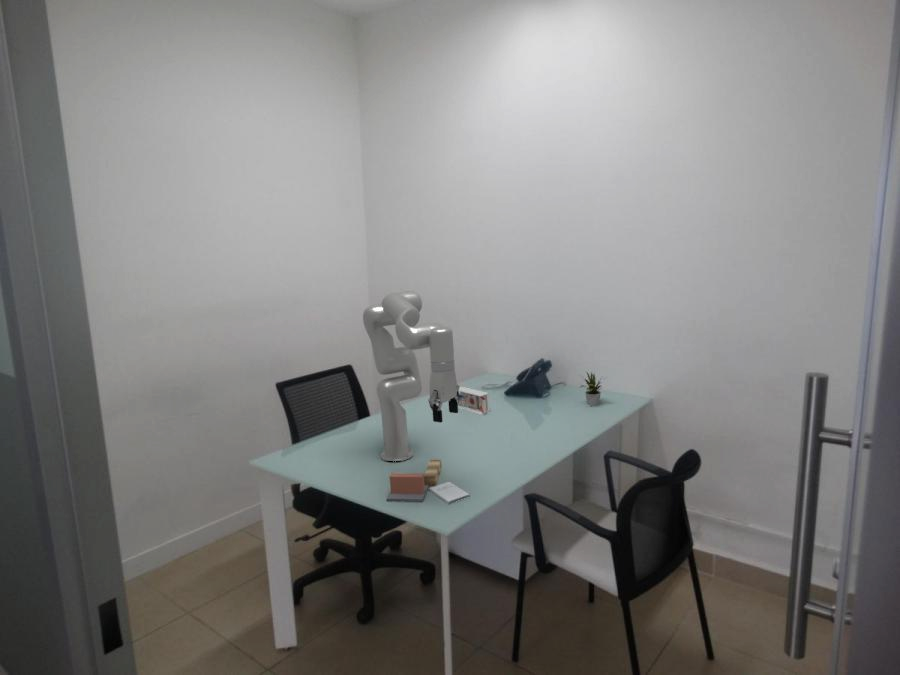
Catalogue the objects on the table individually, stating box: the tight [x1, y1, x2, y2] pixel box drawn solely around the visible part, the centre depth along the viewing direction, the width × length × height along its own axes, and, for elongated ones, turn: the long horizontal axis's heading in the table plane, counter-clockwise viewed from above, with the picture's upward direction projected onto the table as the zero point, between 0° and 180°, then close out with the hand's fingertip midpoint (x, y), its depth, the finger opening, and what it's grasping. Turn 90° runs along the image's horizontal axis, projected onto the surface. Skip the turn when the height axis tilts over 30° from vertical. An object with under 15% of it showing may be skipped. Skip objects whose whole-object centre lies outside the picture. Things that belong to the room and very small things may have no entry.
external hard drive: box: [428, 481, 471, 505], centre depth 188 cm, size 2×8×12 cm
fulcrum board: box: [386, 472, 430, 503], centre depth 189 cm, size 10×12×7 cm
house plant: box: [579, 371, 608, 407], centre depth 270 cm, size 14×14×16 cm
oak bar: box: [423, 459, 443, 487], centre depth 201 cm, size 14×4×4 cm, turn 172°
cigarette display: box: [458, 386, 490, 415], centre depth 273 cm, size 20×6×9 cm, turn 42°
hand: (445, 417), depth 184 cm, fingers open, 9 cm apart
